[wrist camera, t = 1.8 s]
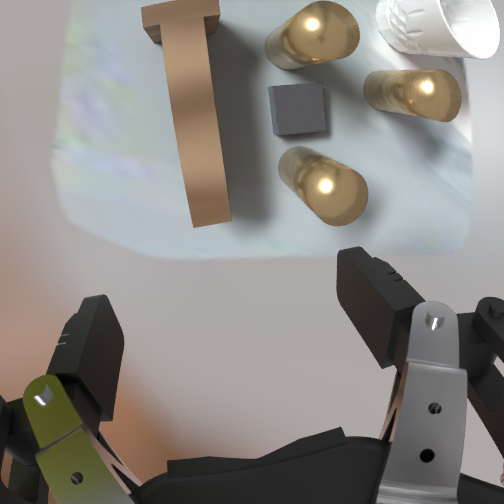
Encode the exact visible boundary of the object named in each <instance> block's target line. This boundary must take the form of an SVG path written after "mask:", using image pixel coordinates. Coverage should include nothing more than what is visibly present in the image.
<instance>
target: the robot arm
mask: <svg viewBox="0 0 504 504" xmlns="http://www.w3.org/2000/svg"><path fill="white" fill-rule="evenodd" d="M336 288H337V296H338V300H339V302H340V305H341V306H342V308H343V309H344V311H345V312H346V314H347V315H348V317H349V318H350V320H351V321H352V323H353V324H354V326H355V327H356V329H357V331H358V332H359V334H360V335H361V337H362V338H363V340H364V341H365V343H366V345H367V346H368V348H369V349H370V351H371V352H372V354H373V356H374V357H375V359H376V360H377V362H378V363H379V365H380V367H381V368H382V369H384V368H386V367H389V366H392V365H395V367H396V368H397V372H396V375H395V380H394V385H393V389H392V393H391V397H390V402H389V406H388V410H387V414H386V418H385V421H384V425H383V428H382V430H381V433H380V436H379V439H375V438H371V437H359V436H357V437H356V436H350V437H345V435H344V432H343V430H342V428H341V427H339V428H335V429H332V430H329V431H326V432H322V433H319V434H316V435H312V436H308V437H305V438H301V439H298V440H296V441H294V442H292V443H291V444H288V445H286V446H284V447H282V448H280V449H278V450H276V451H274V452H271V453H269V454H267V455H265V456H263V457H260V458H257V459H240V458H223V457H211V456H208V457H200V458H191V459H181V460H168V461H167V470H168V472H165V473H162V474H160V475H158V476H156V477H154V478H152V479H150V480H148V481H147V482H145V483H144V484H142V483H141V482H140V481H139V480H138V479H137V478H136V477H135V476H134V475H133V474H132V473H131V471H130V470H129V469H128V468H127V466H126V465H125V464H124V463H123V461H122V460H121V459H120V457H119V456H118V455H117V454H116V452H115V451H114V449H113V448H112V447H111V445H110V444H109V443H108V441H107V440H106V438H105V437H104V435H103V434H102V433H101V431H100V430H99V424H100V422H101V421H112V420H113V412H114V405H115V398H116V391H117V384H118V378H119V372H120V366H121V361H122V355H123V350H124V335H123V332H122V329H121V326H120V324H119V322H118V320H117V317H116V315H115V313H114V311H113V308H112V306H111V304H110V302H109V299H108V297H107V296H106V295H104V294H103V295H97V296H91V297H86V298H84V299H83V301H82V304H81V306H80V309H79V311H78V313H76V314H74V315H73V316H72V317H71V318H70V319H69V320H68V322H67V323H66V324H65V326H64V329H63V331H62V334H61V337H60V338H59V341H58V345H57V346H56V348H55V351H54V354H53V356H52V359H51V362H50V364H49V367H48V370H47V372H46V375H42V376H40V377H37V378H36V379H34V380H33V381H32V382H30V384H29V385H28V386H27V387H26V389H25V391H24V394H23V398H20V399H17V400H13V401H10V402H6V401H5V400H4V399H3V398H2V396H1V395H0V504H48V492H49V488H50V490H51V492H52V494H53V496H54V498H55V500H56V502H57V503H58V504H504V488H503V487H500V486H497V485H494V484H490V483H488V482H485V481H482V480H479V479H476V478H473V477H471V476H468V475H465V474H463V473H460V469H461V462H462V455H463V446H464V437H465V426H466V409H467V398H468V399H469V401H470V402H471V404H472V406H473V407H474V409H475V410H476V412H477V414H478V415H479V417H480V419H481V420H482V422H483V423H484V425H485V427H486V429H487V430H488V432H489V434H490V435H491V437H492V439H493V441H494V442H495V444H496V446H497V447H498V449H499V451H500V453H501V455H502V457H503V458H504V377H503V376H502V374H501V373H500V372H499V371H498V369H497V368H496V366H495V365H494V364H493V363H494V361H495V359H496V358H497V356H498V357H499V358H500V359H501V360H502V362H503V363H504V301H503V300H502V299H499V298H495V297H485V298H483V299H481V300H480V301H479V303H478V305H477V308H476V311H475V312H473V313H462V314H456V313H455V312H454V311H453V309H451V308H450V307H449V306H447V305H445V304H443V303H440V302H436V301H435V302H434V301H428V302H426V301H425V300H424V299H423V298H422V297H421V296H420V295H419V294H418V293H417V292H416V291H415V289H414V288H413V287H411V285H409V283H408V282H407V281H405V280H403V277H402V276H401V275H400V274H399V273H396V270H394V269H393V268H392V267H391V266H390V265H389V264H388V263H387V262H385V261H382V260H381V259H378V258H376V257H374V258H372V257H371V256H370V255H369V254H368V253H367V252H366V251H365V250H364V249H363V248H362V247H360V246H358V247H353V248H349V249H344V250H340V251H339V252H338V255H337V286H336ZM5 451H6V452H8V453H9V454H10V455H11V456H12V457H13V460H12V465H11V472H10V478H9V485H8V488H7V487H6V486H5V485H4V484H3V482H2V479H1V467H2V462H3V456H4V452H5ZM500 480H501V483H502V485H504V464H503V473H502V475H501V478H500Z"/></svg>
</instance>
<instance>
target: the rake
mask: <svg viewBox="0 0 504 504" xmlns="http://www.w3.org/2000/svg"><path fill="white" fill-rule="evenodd" d="M141 12H142V22H143V28H144V30H145V31H146V32H147V34H148V35H149V37H150V38H151V39H152V41H153V42H154V43H157V42H162V46H163V54H164V61H165V68H166V76H167V82H168V89H169V96H170V102H171V109H172V115H173V121H174V127H175V133H176V139H177V145H178V151H179V156H180V162H181V167H182V173H183V178H184V183H185V188H186V194H187V199H188V204H189V209H190V214H191V219H192V223H193V228H196V227H202V226H207V225H212V224H218V223H223V222H229V221H232V217H231V211H230V204H229V198H228V191H227V184H226V177H225V171H224V164H223V157H222V150H221V143H220V136H219V129H218V122H217V115H216V108H215V101H214V94H213V86H212V79H211V72H210V64H209V57H208V49H207V41H206V34H210V33H215V30H216V27H217V24H218V21H219V17H220V7H219V0H175V1H169V2H164V3H159V4H154V5H150V6H145V7H141Z"/></svg>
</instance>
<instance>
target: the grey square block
mask: <svg viewBox="0 0 504 504" xmlns="http://www.w3.org/2000/svg"><path fill="white" fill-rule="evenodd" d="M268 89H269V97H270V106H271V114H272V123H273V132H274V134H276V135H278V136H280V135H289V134H298V133H308V132H319V131H326V123H325V110H324V99H323V89H322V83H316V84H295V85H280V86H271V87H268Z"/></svg>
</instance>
